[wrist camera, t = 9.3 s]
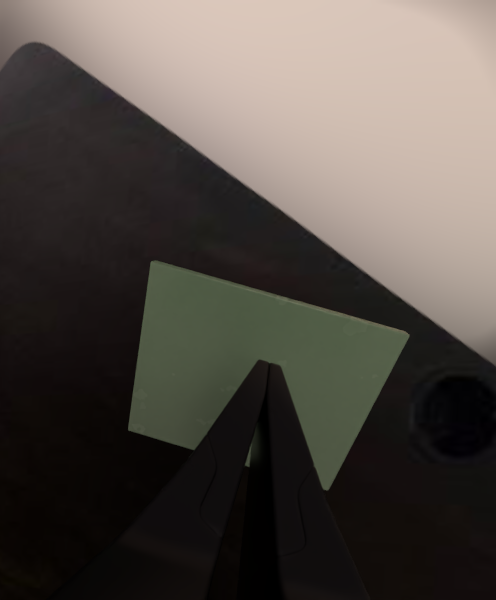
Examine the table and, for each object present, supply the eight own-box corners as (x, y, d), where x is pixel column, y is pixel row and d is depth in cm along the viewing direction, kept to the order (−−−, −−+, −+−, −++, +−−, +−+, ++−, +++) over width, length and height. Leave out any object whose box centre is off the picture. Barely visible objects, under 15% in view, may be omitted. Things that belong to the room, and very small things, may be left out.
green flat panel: (154, 259, 13) (150, 261, 13) (405, 331, 13) (410, 335, 12) (131, 424, 17) (127, 430, 16) (326, 483, 16) (328, 491, 16)
